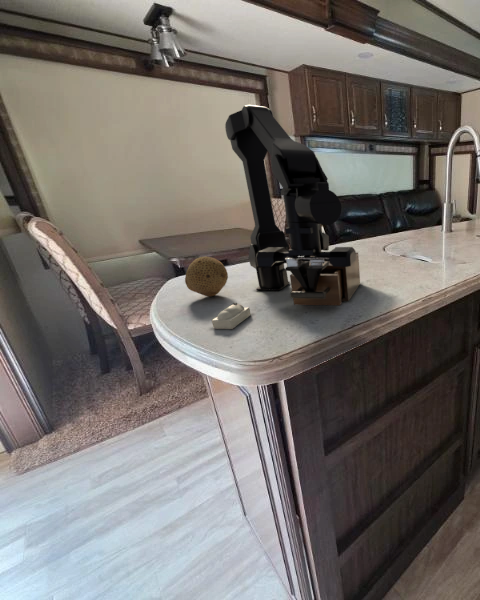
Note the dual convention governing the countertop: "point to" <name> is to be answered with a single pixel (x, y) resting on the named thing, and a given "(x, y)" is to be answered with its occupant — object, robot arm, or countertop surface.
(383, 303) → the countertop surface
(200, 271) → the natural sponge
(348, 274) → the cabinet
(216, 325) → the cream lumpy block
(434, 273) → the countertop surface
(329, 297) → the drawer
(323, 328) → the countertop surface
